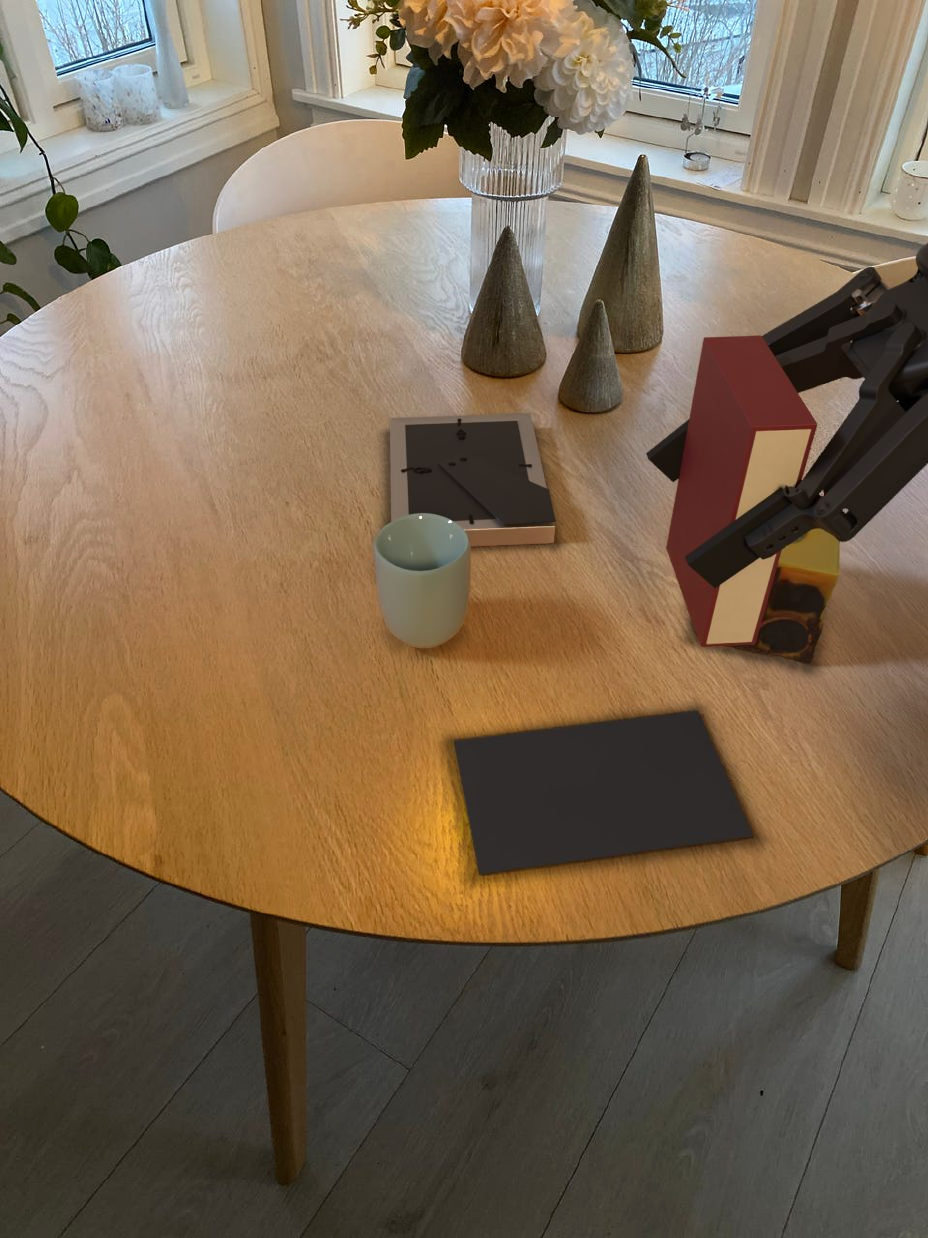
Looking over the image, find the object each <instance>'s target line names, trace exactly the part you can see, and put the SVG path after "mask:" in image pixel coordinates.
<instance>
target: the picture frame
mask: <svg viewBox="0 0 928 1238" xmlns="http://www.w3.org/2000/svg"><path fill="white" fill-rule="evenodd" d="M389 443H390V444H389V452H390V453H389V455H390V456H389V457H390V459H389V460H390V461H389V462H390V463H389V465H390V518H391V519H390V520H391V521H390V522H392V521H394V520H396V519H398V518H401V517H403V516H406V515H411V514H418V513H429V514H435V515H440V516H443V517H445V518H448V519H450V520H452V521H454V522H455V523H457V524H458V525H459V526H460V527H461V528H462V529H463V530H464V531H465V532H466V534H467V535H468V537H469V542H470V548H473V547H494V546H518V545H519V546H520V545H540V544H541V545H542V544H544V545H545V544H554V543H555V533H556V524H555V523H556V521H557V520H556V515H555V510H554V507H553V506H554V505H553V501H552V498H551V493H550V489H549V488H547V482H546V478H545V474H544V469H543V464H542V461H541V455H540V451H539V446H538V441H537V437H536V433H535V427H534V423H533V418H532V415H531V412H520V413H519V412H518V413H516V412H515V413H514V412H513V413H491V414H490V413H489V414H463V415H462V414H461V415H439V416H436V415H435V416H434V415H433V416H413V417H412V416H411V417H409V416H407V417H390V418H389Z"/></svg>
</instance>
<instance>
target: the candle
mask: <svg viewBox="0 0 928 1238" xmlns="http://www.w3.org/2000/svg"><path fill="white" fill-rule="evenodd" d="M840 543H841V542H840V541H838V540H837V539H836V538H835V537H834V536H833V535H831V534H829V533H828V532H826V531H824V530H822V529H818V528H817V529H813V530H810V531H809V532H807V533H806V534H804V535H803V536H801V537H800V538H798V539H797V540H795V541H794V542H792V543H791V544H789V545H788V546H786V547H785V548H784V549H782V551H781V555H780V558H779V562H778V565H777V569H776V572H775V576H774V579H773V583H772V586H771V590H770V594H769V597H768V601H767V604H766V608H765V611H764V615H763V618H762V622H761V625H760V629H759V632H758V636H757V639H756V643H755V644H753V645H733V646H730V647H732V648H737V649H741V650H745V651H749V652H752V653H762V654H764V655H767V654H768V655H769V654H774V655H778V656H781V657H785V658H786V659H787V658H788V659H790V660H793V661H798V662H800V663H803V664H809V665H810V664H811V663H812V662H813V661H814V660H813V659H814V654H815V652H816V647H817V645H818V643H819V640H820V637H821V634H822V632H823V626H824V624H823V621H824V620H823V619H824V614H825V613H824V611H825V609H826V607H827V603H828V602H829V600H830V599H831V598H832V594H833V591H834V588H835V587H836V585H837V582H838V577H839V574H840V569H841V567H840V554H841V551H840V549H841V548H840V545H841V544H840ZM693 632H694V633H695V636H697V634H696V631H695V630H694V631H693Z"/></svg>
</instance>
